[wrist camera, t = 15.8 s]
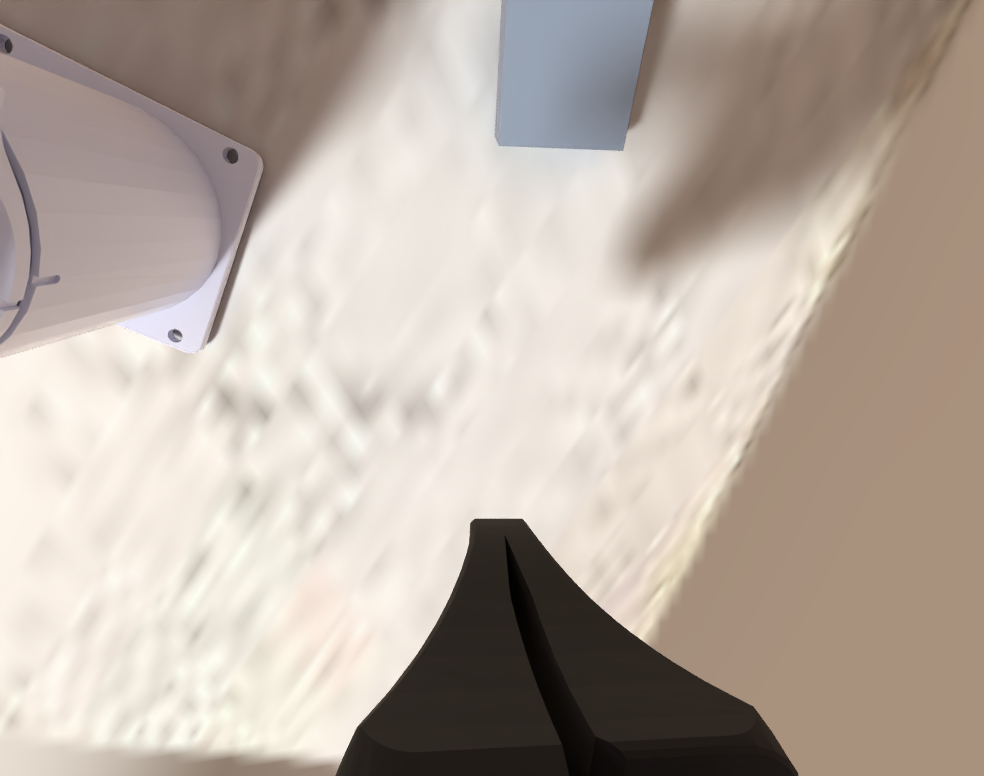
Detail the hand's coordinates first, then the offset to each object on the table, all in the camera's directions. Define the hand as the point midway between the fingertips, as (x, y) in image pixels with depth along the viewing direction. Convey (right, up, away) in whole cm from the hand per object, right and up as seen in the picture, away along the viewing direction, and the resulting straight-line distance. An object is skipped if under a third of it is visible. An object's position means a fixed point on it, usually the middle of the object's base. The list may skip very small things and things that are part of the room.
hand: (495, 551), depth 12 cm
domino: (+2, +13, +5) cm, 14 cm away
